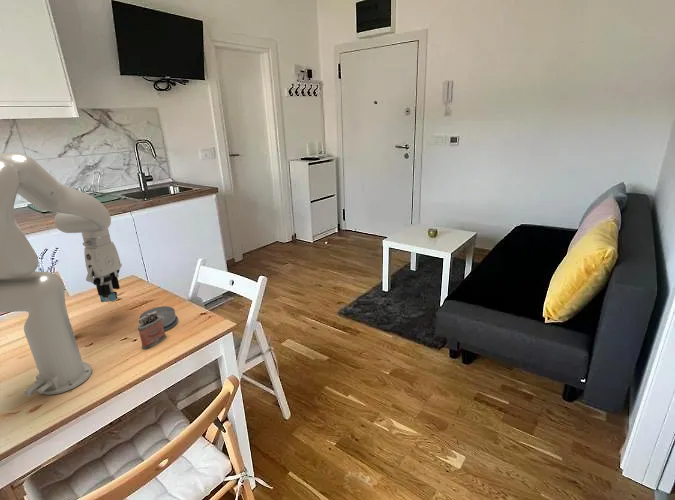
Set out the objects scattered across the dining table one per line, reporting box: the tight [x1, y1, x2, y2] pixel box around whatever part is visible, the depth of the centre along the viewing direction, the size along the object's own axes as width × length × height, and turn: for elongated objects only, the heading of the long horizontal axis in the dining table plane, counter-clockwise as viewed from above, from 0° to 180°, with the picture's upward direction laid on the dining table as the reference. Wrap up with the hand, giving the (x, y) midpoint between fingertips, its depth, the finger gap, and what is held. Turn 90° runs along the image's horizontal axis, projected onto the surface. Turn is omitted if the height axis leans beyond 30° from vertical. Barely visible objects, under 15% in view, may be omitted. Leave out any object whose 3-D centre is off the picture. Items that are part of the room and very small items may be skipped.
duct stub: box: [138, 305, 179, 332], centre depth 130 cm, size 12×12×4 cm
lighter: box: [136, 311, 167, 350], centre depth 119 cm, size 8×3×10 cm, turn 154°
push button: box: [98, 274, 123, 303], centre depth 131 cm, size 7×5×10 cm
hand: (109, 291), depth 131 cm, fingers closed on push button, 4 cm apart
